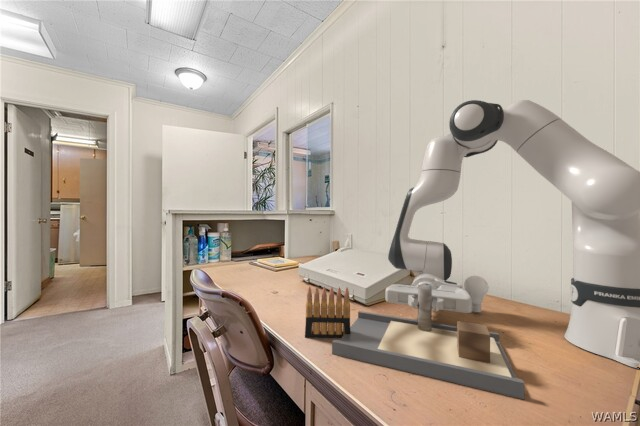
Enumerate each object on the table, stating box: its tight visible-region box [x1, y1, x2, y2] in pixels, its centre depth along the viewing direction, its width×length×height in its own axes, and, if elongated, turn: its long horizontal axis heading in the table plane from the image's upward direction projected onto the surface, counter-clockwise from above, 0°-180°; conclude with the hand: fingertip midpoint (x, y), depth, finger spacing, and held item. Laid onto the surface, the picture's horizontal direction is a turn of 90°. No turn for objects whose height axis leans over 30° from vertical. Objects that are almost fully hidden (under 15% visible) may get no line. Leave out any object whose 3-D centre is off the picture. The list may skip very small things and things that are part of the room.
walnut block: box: [456, 320, 490, 363], centre depth 51 cm, size 5×5×5 cm
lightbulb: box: [463, 275, 490, 314], centre depth 79 cm, size 6×6×11 cm
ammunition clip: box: [304, 286, 351, 339], centre depth 62 cm, size 11×2×12 cm, turn 89°
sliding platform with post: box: [378, 284, 511, 377], centre depth 55 cm, size 22×16×11 cm
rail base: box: [331, 310, 525, 400], centre depth 57 cm, size 32×20×2 cm, turn 66°
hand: (424, 306), depth 62 cm, fingers closed on sliding platform with post, 3 cm apart
